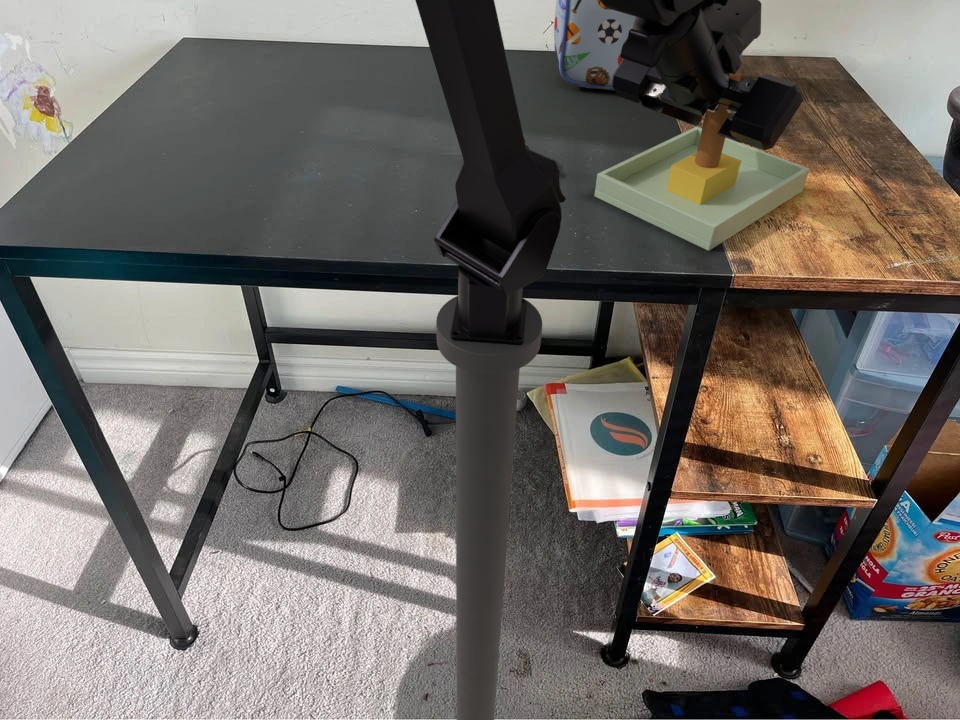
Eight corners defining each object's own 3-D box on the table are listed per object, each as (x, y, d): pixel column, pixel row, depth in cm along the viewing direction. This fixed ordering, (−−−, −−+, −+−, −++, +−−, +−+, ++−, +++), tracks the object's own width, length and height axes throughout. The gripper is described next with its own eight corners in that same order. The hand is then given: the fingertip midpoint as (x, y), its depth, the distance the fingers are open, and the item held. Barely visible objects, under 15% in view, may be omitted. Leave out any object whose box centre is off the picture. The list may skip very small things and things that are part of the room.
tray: (708, 251, 76) (714, 227, 74) (594, 196, 84) (597, 173, 83) (802, 191, 86) (810, 168, 85) (692, 147, 95) (696, 126, 93)
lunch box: (728, 75, 114) (768, -91, 100) (745, 101, 106) (790, -74, 92) (548, 70, 114) (561, -97, 100) (552, 96, 106) (566, -81, 92)
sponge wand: (700, 204, 82) (728, 86, 73) (666, 190, 84) (689, 74, 76) (735, 184, 86) (765, 70, 77) (701, 171, 88) (727, 58, 79)
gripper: (827, -8, 63) (844, 90, 76) (647, -50, 73) (689, 43, 86) (752, 108, 64) (782, 185, 77) (585, 51, 74) (636, 127, 87)
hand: (720, 130), depth 81 cm, fingers open, 5 cm apart
